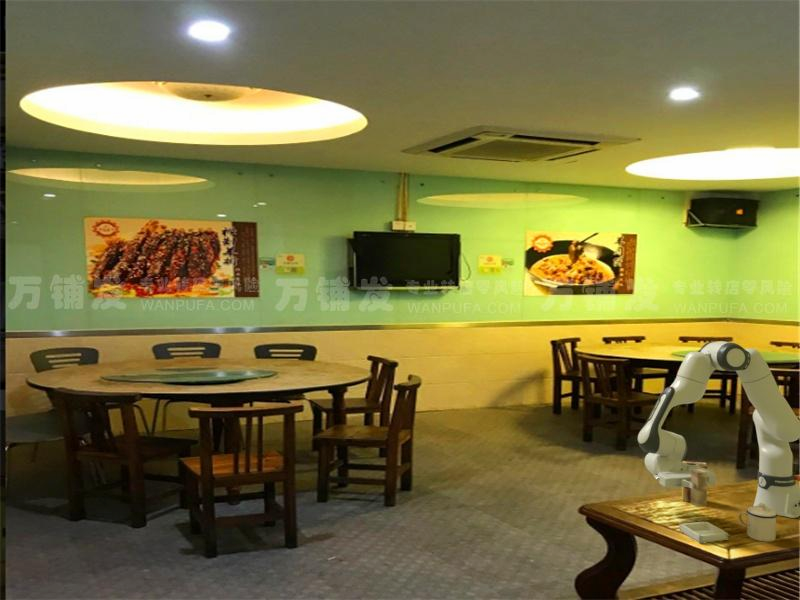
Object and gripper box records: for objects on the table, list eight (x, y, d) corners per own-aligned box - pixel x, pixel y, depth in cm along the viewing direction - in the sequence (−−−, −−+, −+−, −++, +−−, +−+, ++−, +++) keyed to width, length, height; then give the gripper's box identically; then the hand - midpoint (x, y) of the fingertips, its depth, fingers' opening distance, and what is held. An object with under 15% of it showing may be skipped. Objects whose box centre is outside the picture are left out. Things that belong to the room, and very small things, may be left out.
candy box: (705, 500, 266) (706, 462, 266) (707, 503, 262) (707, 465, 262) (681, 497, 269) (682, 460, 268) (682, 501, 265) (683, 463, 264)
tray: (706, 528, 238) (706, 521, 238) (728, 540, 227) (728, 533, 227) (679, 530, 236) (679, 524, 235) (699, 543, 225) (699, 536, 225)
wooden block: (699, 502, 236) (700, 469, 235) (706, 506, 232) (706, 472, 232) (690, 503, 235) (691, 469, 235) (697, 506, 232) (697, 472, 231)
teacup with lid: (780, 537, 230) (780, 503, 230) (771, 544, 224) (772, 510, 223) (743, 527, 239) (743, 495, 238) (733, 534, 233) (734, 501, 232)
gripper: (650, 467, 244) (673, 478, 230) (700, 463, 248) (726, 474, 234) (650, 484, 244) (673, 496, 231) (700, 480, 248) (725, 492, 235)
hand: (700, 485), depth 233 cm, fingers closed on wooden block, 4 cm apart
